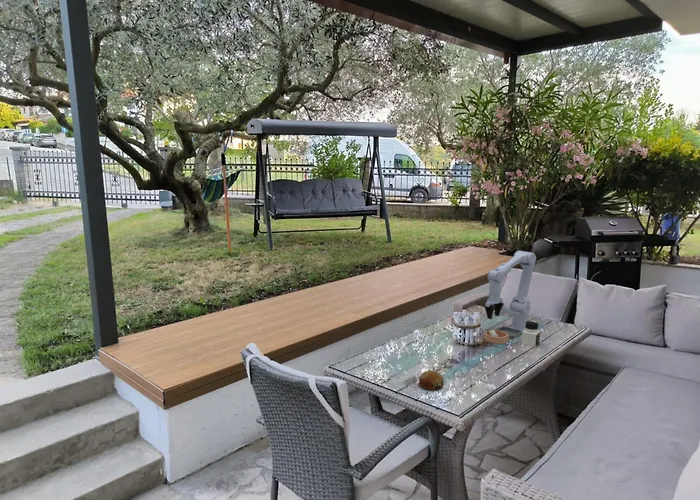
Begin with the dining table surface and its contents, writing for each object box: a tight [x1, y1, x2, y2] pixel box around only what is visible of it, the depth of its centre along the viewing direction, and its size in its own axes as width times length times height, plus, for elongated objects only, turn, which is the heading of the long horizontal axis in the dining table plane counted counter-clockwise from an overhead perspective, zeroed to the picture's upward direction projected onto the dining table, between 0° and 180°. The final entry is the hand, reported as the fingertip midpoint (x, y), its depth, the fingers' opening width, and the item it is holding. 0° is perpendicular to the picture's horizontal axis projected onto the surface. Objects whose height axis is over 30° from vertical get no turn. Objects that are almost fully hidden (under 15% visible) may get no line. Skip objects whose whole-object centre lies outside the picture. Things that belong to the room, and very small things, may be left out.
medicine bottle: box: [521, 320, 541, 348], centre depth 243 cm, size 7×7×12 cm
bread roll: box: [418, 369, 445, 391], centre depth 196 cm, size 10×10×8 cm
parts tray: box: [494, 325, 524, 341], centre depth 258 cm, size 12×12×2 cm
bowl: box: [483, 329, 510, 345], centre depth 249 cm, size 12×12×4 cm
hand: (493, 317), depth 255 cm, fingers open, 7 cm apart
